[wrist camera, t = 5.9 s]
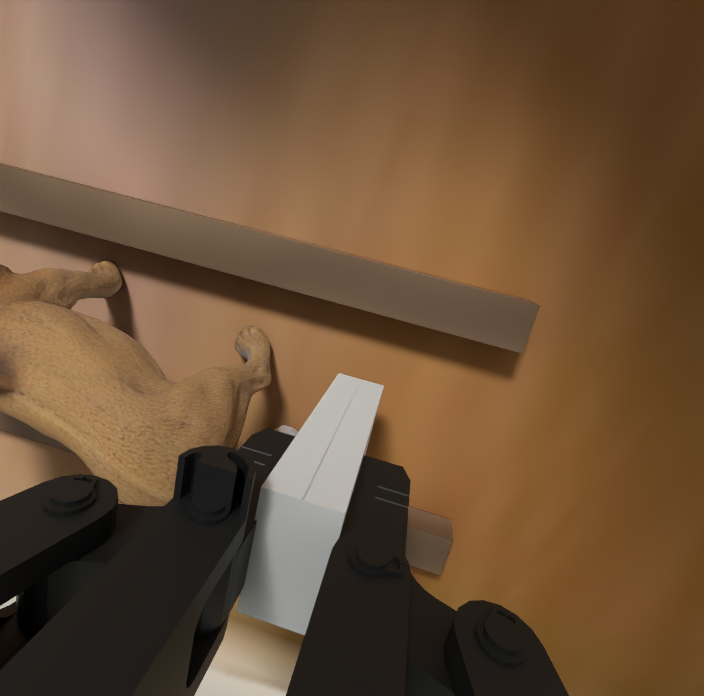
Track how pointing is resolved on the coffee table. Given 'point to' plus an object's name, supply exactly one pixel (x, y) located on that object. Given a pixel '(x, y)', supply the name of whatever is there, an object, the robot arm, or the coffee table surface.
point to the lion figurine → (114, 384)
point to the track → (282, 271)
